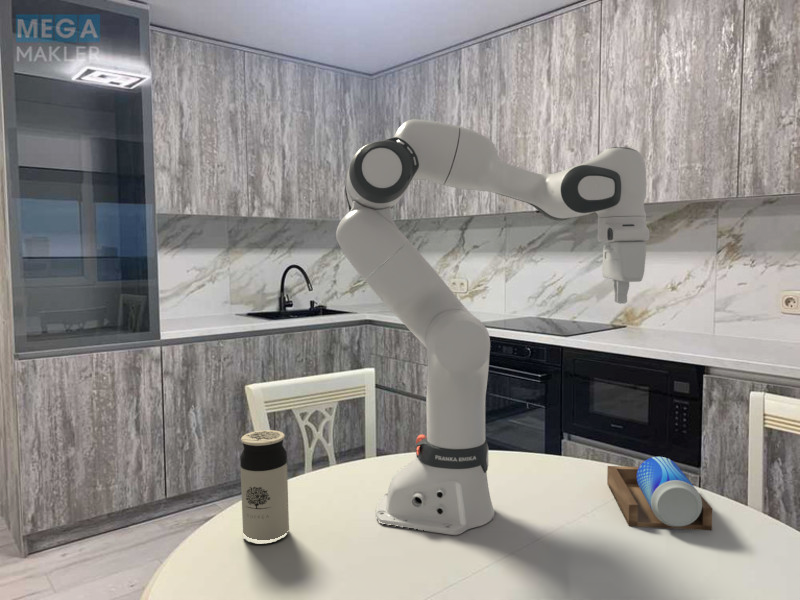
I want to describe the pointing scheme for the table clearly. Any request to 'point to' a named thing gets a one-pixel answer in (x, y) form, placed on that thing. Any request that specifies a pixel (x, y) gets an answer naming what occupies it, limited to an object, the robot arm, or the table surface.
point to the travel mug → (264, 485)
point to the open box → (645, 501)
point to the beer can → (669, 492)
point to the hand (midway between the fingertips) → (620, 303)
